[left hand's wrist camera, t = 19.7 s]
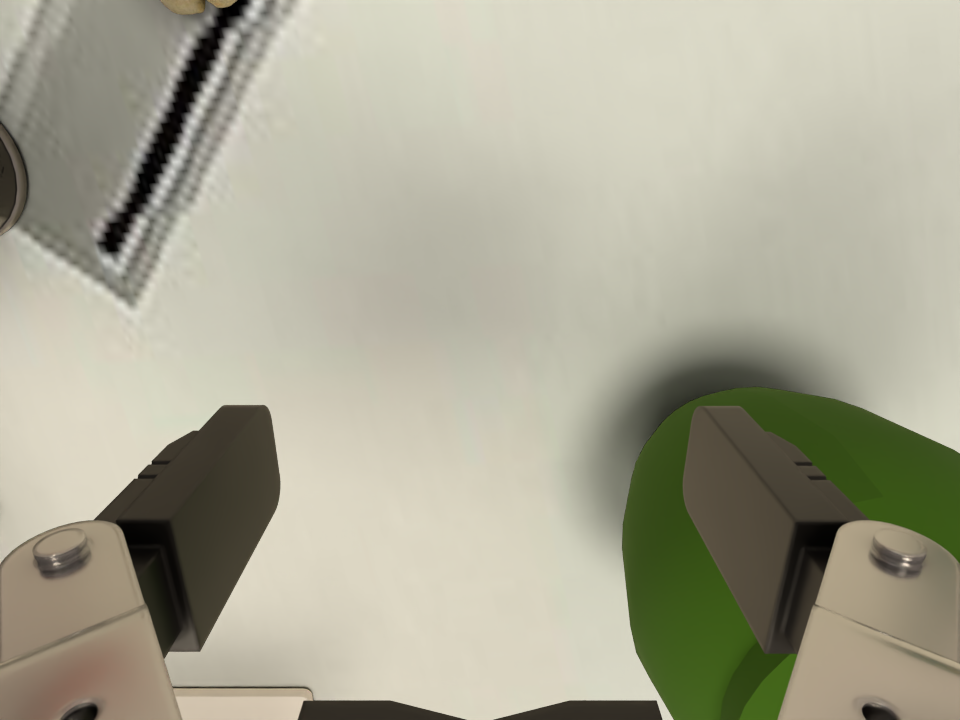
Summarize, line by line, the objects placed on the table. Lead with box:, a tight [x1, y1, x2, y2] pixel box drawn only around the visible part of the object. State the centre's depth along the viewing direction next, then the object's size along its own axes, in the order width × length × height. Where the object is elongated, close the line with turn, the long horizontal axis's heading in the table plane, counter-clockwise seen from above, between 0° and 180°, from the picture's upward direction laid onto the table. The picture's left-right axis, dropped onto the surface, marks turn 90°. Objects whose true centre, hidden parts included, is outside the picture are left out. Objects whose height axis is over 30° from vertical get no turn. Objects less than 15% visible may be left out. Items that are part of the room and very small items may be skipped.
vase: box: [622, 387, 960, 720], centre depth 33 cm, size 20×20×24 cm
